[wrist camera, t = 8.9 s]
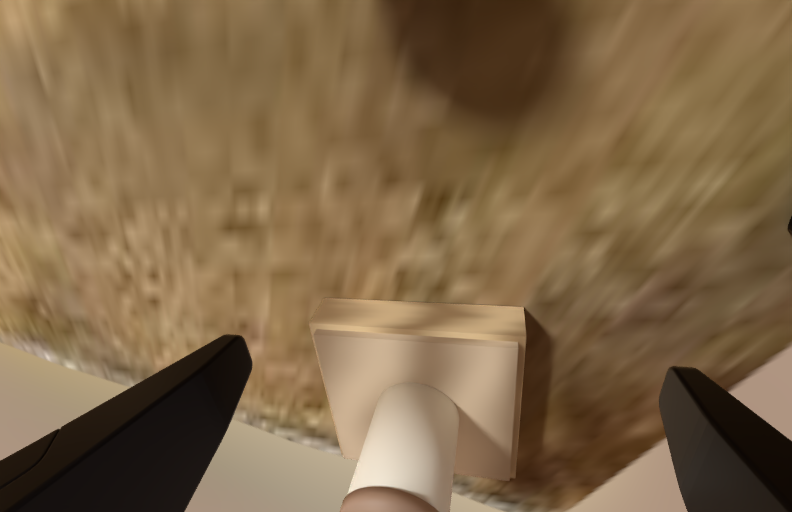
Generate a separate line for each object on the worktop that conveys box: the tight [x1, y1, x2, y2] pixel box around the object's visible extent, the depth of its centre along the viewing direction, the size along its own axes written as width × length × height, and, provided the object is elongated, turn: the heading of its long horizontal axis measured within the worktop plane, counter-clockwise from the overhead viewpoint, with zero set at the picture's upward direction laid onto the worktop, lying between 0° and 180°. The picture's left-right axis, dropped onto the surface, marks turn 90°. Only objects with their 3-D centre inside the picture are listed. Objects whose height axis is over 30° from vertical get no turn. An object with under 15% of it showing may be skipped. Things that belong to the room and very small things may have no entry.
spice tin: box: [340, 383, 459, 512], centre depth 22 cm, size 5×5×7 cm
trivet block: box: [309, 298, 526, 481], centre depth 26 cm, size 12×12×3 cm
